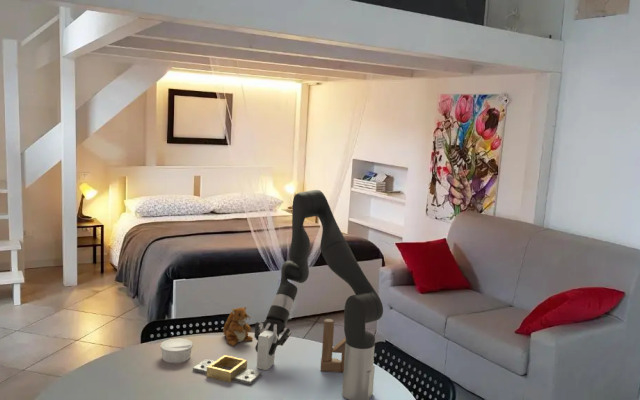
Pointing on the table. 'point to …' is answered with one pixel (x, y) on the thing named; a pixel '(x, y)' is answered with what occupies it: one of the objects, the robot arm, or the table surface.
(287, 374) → the table surface
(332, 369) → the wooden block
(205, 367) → the square socket fixture
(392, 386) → the table surface
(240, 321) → the stuffed squirrel
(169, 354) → the ramekin
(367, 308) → the robot arm
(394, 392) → the table surface
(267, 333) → the skincare box
